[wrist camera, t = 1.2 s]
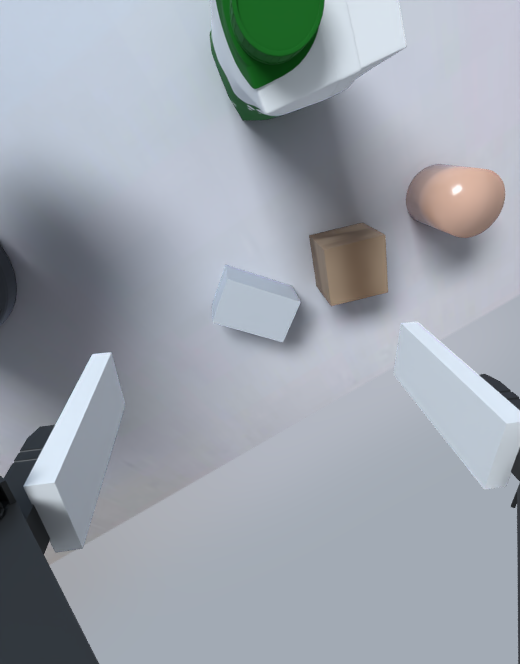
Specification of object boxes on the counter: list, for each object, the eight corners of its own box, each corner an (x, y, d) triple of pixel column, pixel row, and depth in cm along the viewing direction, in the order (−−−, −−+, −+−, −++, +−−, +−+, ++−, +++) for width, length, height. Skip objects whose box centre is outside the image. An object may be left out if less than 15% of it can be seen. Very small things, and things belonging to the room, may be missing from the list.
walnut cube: (316, 285, 44) (331, 306, 38) (309, 235, 41) (323, 249, 36) (366, 273, 44) (387, 292, 38) (362, 222, 41) (385, 234, 36)
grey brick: (211, 303, 43) (212, 322, 39) (225, 263, 41) (227, 279, 37) (275, 322, 45) (282, 342, 41) (291, 285, 43) (300, 301, 39)
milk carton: (194, 26, 31) (176, -116, 14) (294, -25, 31) (409, -244, 13) (238, 135, 36) (266, 132, 18) (326, 93, 35) (447, 46, 17)
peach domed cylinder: (402, 224, 41) (435, 239, 35) (410, 165, 39) (448, 170, 33) (453, 221, 42) (495, 235, 36) (465, 162, 39) (513, 167, 33)
